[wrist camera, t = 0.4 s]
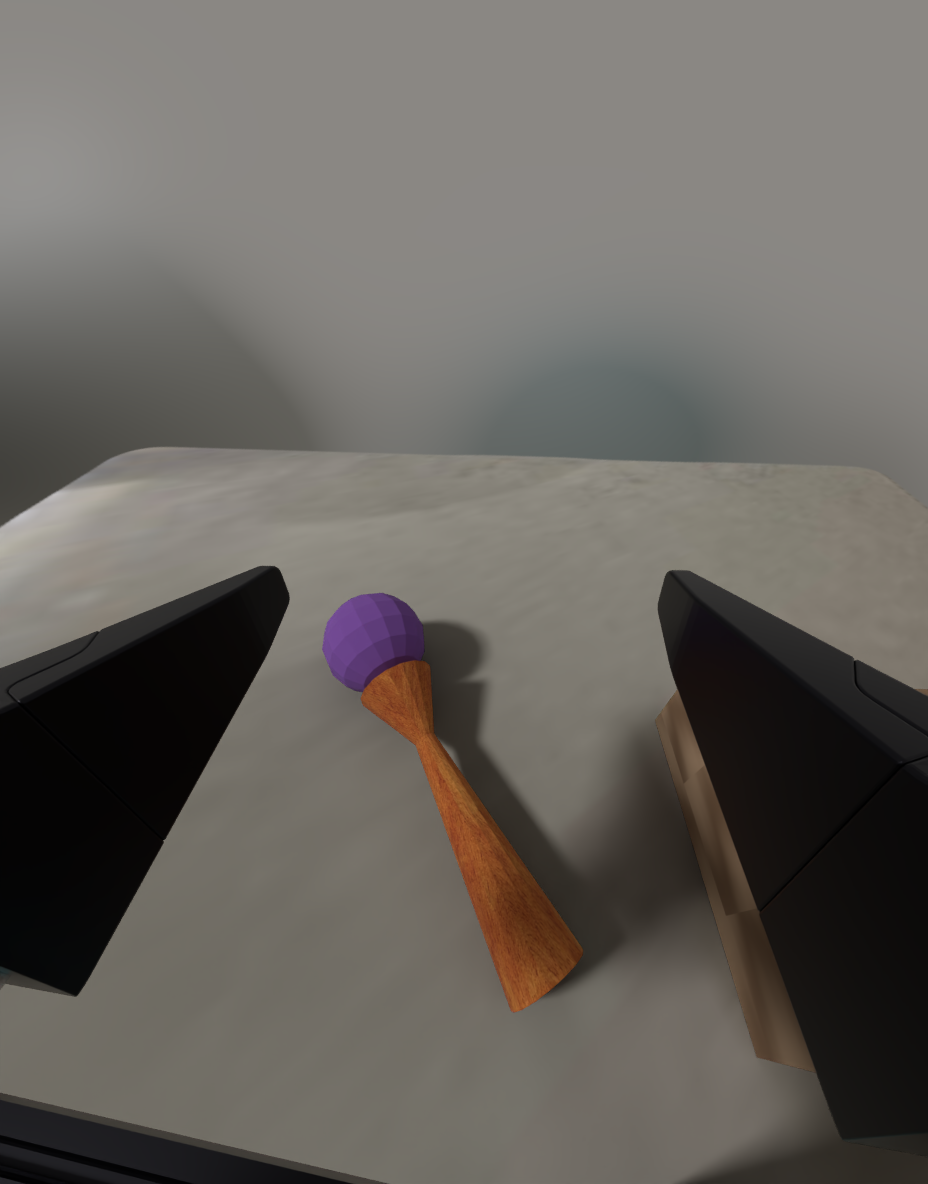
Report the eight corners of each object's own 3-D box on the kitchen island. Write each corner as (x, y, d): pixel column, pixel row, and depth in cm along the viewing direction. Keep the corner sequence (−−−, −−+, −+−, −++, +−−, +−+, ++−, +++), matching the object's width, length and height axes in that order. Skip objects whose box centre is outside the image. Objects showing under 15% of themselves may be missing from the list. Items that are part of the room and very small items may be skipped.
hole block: (1137, 1086, 14) (1340, 1118, 11) (756, 1057, 14) (840, 1079, 11) (883, 731, 23) (951, 690, 20) (655, 720, 23) (685, 679, 20)
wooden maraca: (471, 1068, 12) (292, 605, 23) (486, 1011, 17) (333, 652, 28) (626, 938, 13) (386, 558, 24) (598, 919, 18) (409, 610, 29)
